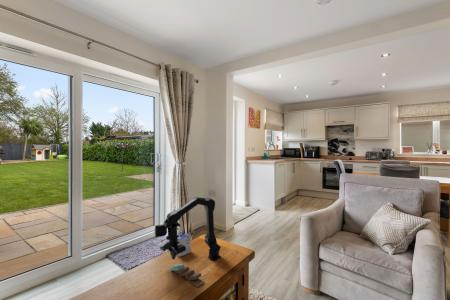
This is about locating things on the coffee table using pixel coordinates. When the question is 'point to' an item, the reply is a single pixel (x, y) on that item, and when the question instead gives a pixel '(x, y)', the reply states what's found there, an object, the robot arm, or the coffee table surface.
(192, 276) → the domino
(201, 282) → the domino
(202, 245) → the coffee table surface
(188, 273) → the domino
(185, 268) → the domino
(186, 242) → the ink cartridge box
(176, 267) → the domino
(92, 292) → the coffee table surface
